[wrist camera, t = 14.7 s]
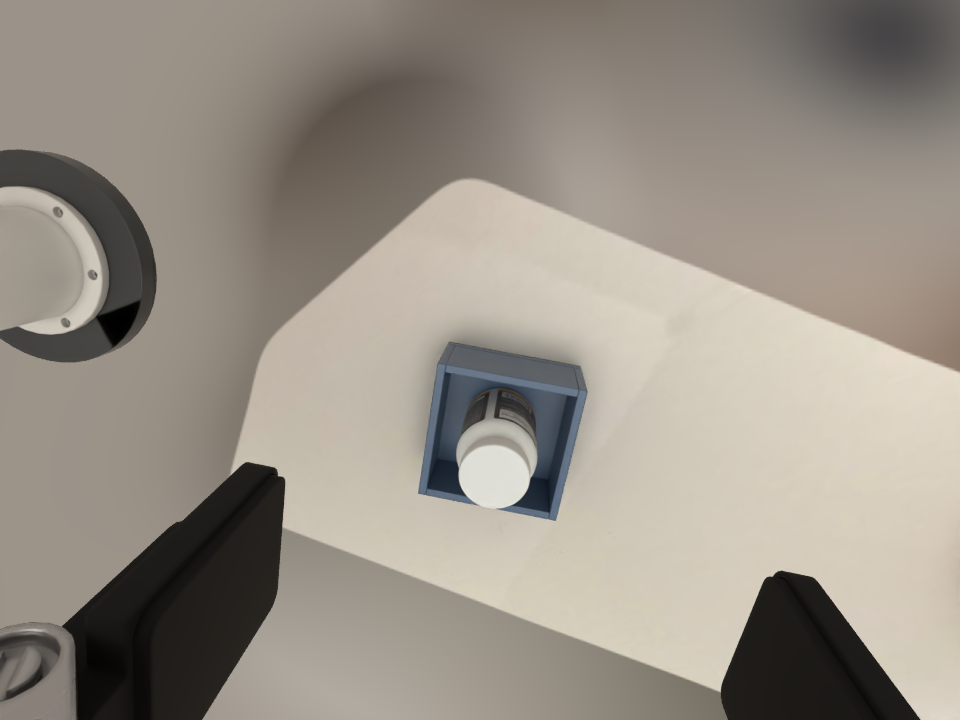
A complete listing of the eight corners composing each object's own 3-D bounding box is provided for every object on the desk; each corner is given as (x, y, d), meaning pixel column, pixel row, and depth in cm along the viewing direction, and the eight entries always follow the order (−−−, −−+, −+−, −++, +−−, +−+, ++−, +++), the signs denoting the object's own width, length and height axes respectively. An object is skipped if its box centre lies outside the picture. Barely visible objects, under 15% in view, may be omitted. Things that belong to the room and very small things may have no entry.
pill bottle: (480, 457, 46) (467, 526, 36) (456, 396, 44) (436, 451, 35) (545, 439, 44) (549, 504, 35) (523, 376, 43) (521, 427, 34)
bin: (431, 458, 47) (417, 493, 41) (449, 341, 44) (437, 362, 38) (552, 482, 46) (555, 521, 41) (580, 366, 43) (587, 391, 38)
